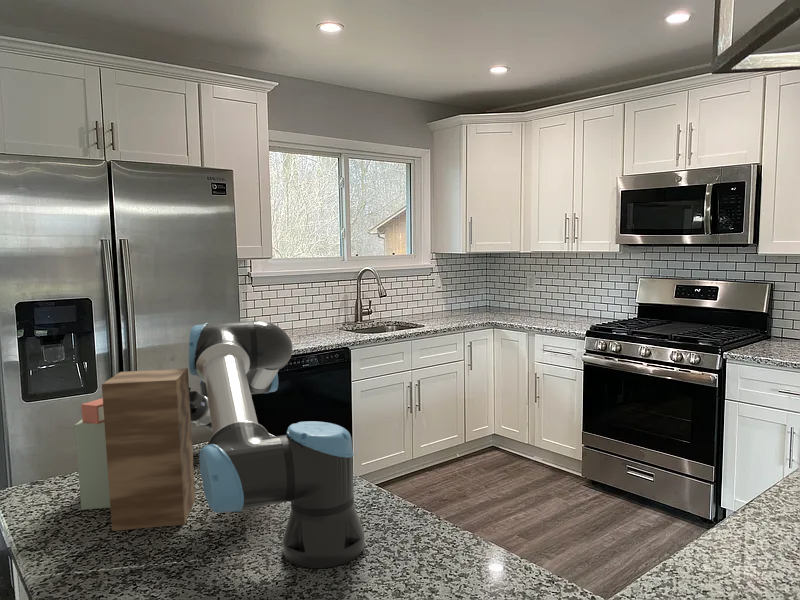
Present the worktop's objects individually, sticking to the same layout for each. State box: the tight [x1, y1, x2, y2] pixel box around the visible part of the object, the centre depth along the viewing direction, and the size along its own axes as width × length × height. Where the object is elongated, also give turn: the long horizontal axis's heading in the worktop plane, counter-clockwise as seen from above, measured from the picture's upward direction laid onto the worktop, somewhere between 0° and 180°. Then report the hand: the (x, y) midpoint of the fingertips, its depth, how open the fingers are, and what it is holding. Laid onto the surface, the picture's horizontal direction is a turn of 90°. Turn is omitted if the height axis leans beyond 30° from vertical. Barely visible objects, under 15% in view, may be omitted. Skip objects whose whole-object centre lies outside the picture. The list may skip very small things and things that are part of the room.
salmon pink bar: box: [80, 397, 104, 424], centre depth 140 cm, size 22×4×4 cm, turn 159°
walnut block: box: [101, 367, 196, 532], centre depth 126 cm, size 12×14×30 cm
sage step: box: [74, 419, 110, 511], centre depth 138 cm, size 14×12×19 cm
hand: (141, 384), depth 143 cm, fingers open, 13 cm apart
